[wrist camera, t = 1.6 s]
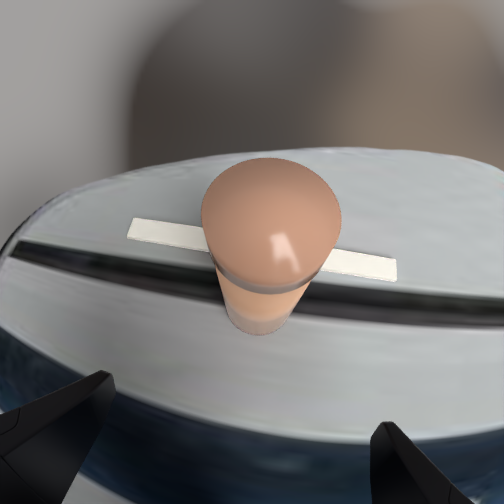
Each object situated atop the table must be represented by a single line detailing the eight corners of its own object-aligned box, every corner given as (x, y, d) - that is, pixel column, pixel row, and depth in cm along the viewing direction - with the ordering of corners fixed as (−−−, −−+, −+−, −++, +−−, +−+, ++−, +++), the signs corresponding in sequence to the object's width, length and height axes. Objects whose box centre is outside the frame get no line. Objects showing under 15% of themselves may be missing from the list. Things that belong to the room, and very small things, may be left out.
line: (128, 238, 24) (126, 236, 24) (135, 219, 25) (133, 217, 25) (394, 282, 23) (396, 280, 23) (394, 261, 24) (396, 259, 24)
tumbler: (229, 340, 21) (206, 286, 9) (221, 276, 23) (197, 164, 11) (297, 330, 21) (358, 265, 10) (285, 268, 24) (320, 154, 12)
